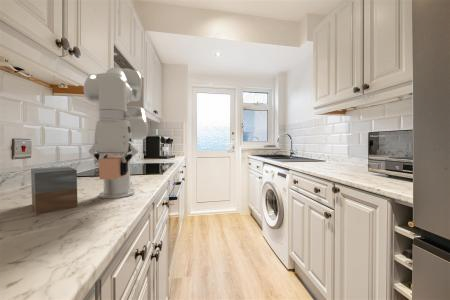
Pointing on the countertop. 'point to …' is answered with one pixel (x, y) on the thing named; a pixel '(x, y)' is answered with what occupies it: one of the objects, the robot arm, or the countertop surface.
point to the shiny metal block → (53, 189)
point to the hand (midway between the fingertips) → (114, 174)
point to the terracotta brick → (110, 167)
